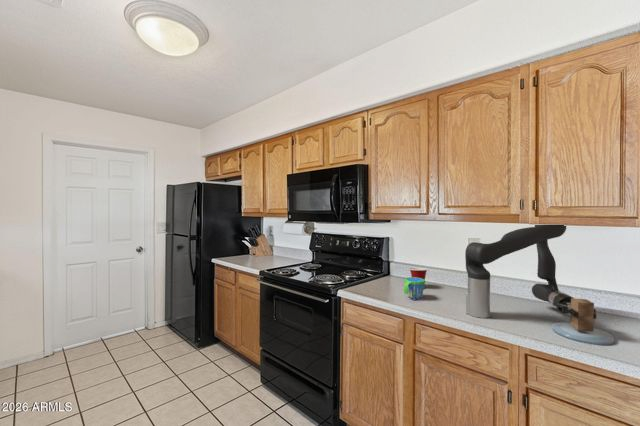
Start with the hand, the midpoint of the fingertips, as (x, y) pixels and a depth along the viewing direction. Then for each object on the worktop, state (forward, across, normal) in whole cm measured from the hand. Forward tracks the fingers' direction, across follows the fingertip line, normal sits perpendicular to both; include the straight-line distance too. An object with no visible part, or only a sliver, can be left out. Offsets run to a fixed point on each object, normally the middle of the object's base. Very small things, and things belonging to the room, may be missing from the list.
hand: (586, 315), depth 113 cm
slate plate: (-3, 0, +8) cm, 9 cm away
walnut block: (-3, 0, +6) cm, 7 cm away
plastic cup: (-58, -58, +9) cm, 83 cm away
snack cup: (-35, -61, +9) cm, 71 cm away
